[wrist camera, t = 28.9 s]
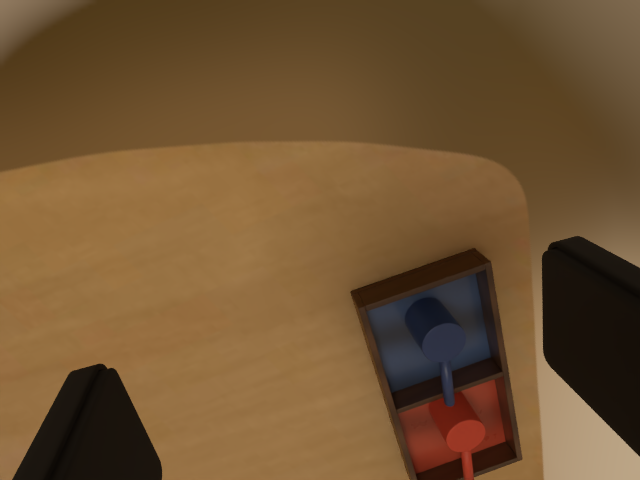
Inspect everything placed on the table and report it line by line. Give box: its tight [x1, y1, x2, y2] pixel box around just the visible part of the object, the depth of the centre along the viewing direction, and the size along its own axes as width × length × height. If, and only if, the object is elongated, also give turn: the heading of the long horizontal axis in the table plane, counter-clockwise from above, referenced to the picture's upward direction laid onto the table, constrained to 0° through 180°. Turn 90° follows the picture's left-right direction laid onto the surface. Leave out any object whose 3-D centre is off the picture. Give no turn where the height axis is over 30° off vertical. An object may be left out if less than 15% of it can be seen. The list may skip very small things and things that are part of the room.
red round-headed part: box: [429, 391, 485, 480], centre depth 47 cm, size 10×4×4 cm, turn 12°
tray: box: [351, 249, 522, 480], centre depth 46 cm, size 25×12×3 cm, turn 17°
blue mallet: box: [405, 298, 466, 407], centre depth 42 cm, size 10×4×4 cm, turn 12°
